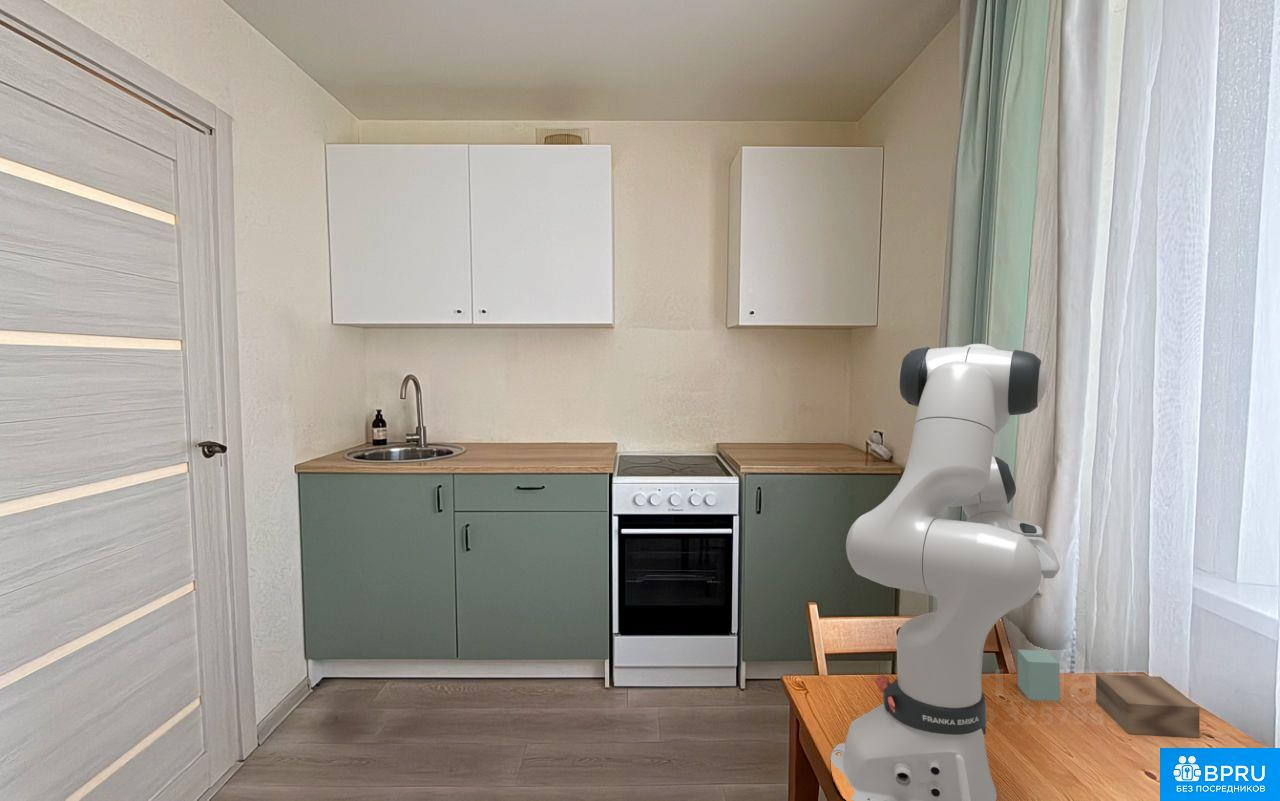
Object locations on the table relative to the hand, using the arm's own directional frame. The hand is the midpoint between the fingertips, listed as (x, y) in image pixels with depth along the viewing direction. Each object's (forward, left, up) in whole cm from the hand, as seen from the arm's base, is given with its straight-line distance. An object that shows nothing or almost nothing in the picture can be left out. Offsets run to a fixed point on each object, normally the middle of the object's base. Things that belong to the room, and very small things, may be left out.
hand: (1011, 595), depth 127 cm
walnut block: (+14, -19, -14) cm, 27 cm away
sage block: (0, -12, -14) cm, 18 cm away
